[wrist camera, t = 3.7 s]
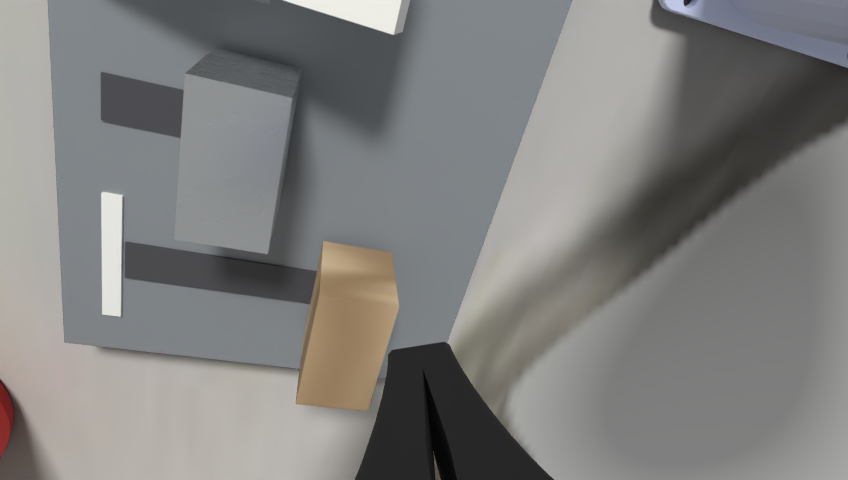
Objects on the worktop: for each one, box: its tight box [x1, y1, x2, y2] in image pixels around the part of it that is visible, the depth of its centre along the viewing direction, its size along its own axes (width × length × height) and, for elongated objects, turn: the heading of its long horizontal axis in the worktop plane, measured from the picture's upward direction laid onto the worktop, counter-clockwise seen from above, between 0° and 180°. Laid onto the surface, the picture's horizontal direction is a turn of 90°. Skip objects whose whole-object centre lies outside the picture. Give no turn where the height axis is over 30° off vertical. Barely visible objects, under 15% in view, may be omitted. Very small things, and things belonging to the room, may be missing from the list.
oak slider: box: [296, 241, 399, 411], centre depth 18 cm, size 2×4×3 cm, turn 165°
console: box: [48, 0, 572, 378], centre depth 17 cm, size 14×19×3 cm
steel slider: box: [174, 48, 302, 254], centre depth 15 cm, size 2×4×3 cm, turn 165°
